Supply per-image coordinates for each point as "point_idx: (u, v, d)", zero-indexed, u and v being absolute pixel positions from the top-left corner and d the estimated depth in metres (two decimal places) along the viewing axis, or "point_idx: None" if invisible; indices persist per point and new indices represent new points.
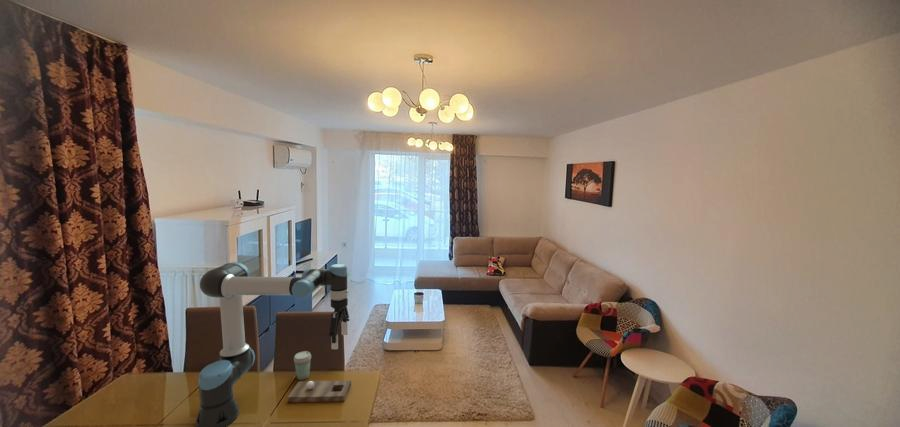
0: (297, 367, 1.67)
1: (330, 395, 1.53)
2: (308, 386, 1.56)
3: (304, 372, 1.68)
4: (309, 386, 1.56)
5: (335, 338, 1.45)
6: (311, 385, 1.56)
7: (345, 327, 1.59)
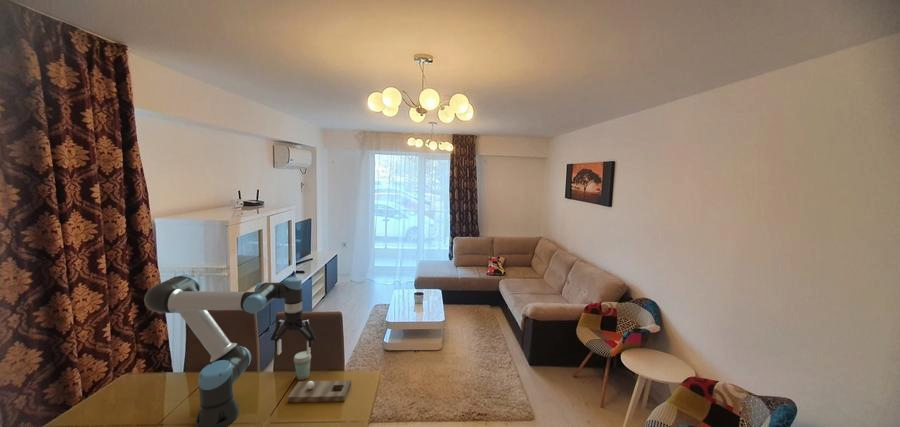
0: (297, 367, 1.67)
1: (330, 395, 1.53)
2: (308, 386, 1.56)
3: (304, 372, 1.68)
4: (309, 386, 1.56)
5: (276, 343, 1.54)
6: (311, 385, 1.56)
7: None
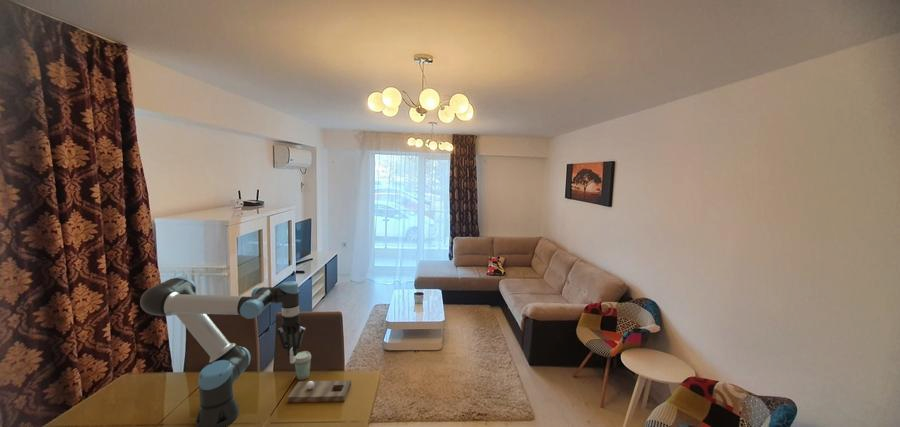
0: (297, 367, 1.67)
1: (330, 395, 1.53)
2: (308, 386, 1.56)
3: (304, 372, 1.68)
4: (309, 386, 1.56)
5: (289, 352, 1.55)
6: (311, 385, 1.56)
7: None
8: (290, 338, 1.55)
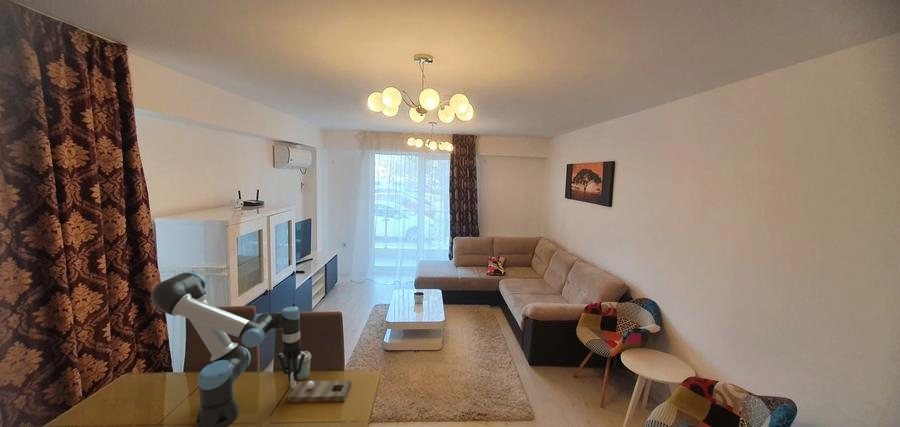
0: None
1: (330, 395, 1.53)
2: (308, 386, 1.56)
3: (304, 372, 1.68)
4: (309, 386, 1.56)
5: (289, 377, 1.56)
6: (311, 385, 1.56)
7: None
8: (291, 363, 1.56)
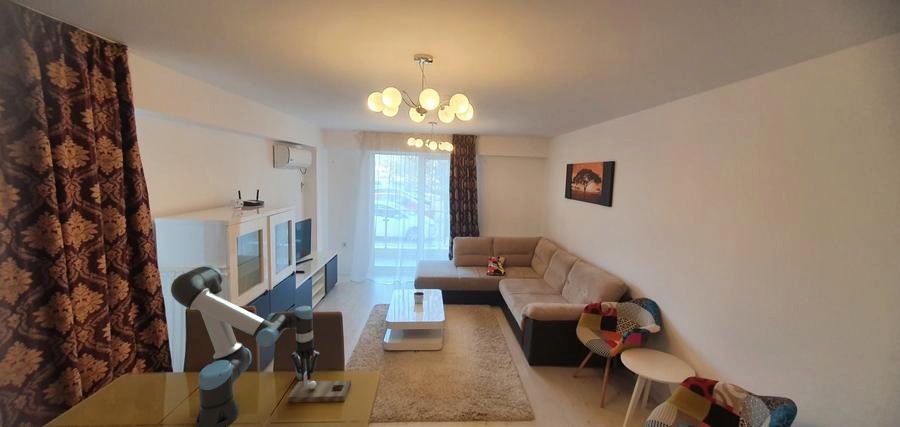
0: None
1: (330, 395, 1.53)
2: (311, 386, 1.56)
3: None
4: (311, 386, 1.56)
5: (303, 376, 1.56)
6: (314, 386, 1.56)
7: None
8: (304, 362, 1.56)
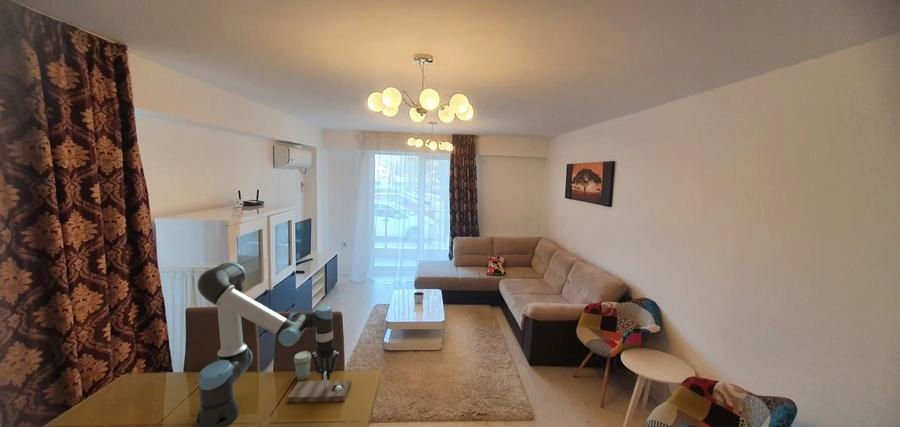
0: (297, 367, 1.67)
1: (330, 395, 1.53)
2: None
3: (304, 372, 1.68)
4: None
5: (322, 376, 1.56)
6: None
7: None
8: (324, 362, 1.57)
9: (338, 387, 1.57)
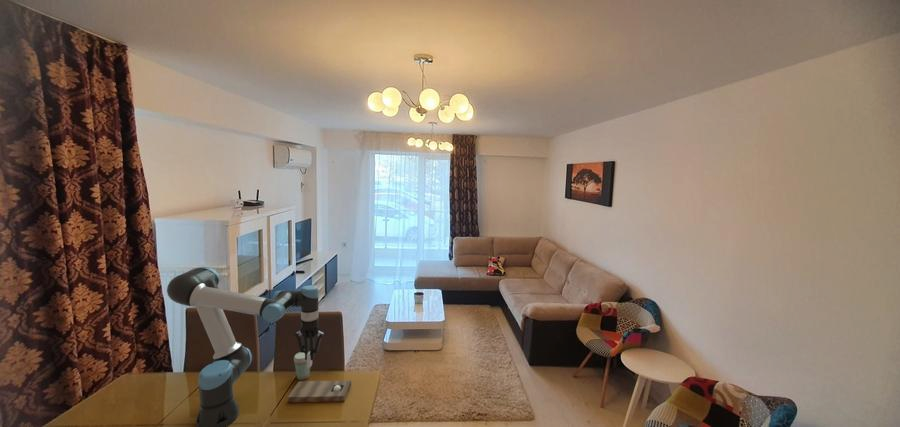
0: (297, 367, 1.67)
1: (330, 395, 1.53)
2: None
3: (304, 372, 1.68)
4: None
5: (306, 356, 1.55)
6: None
7: None
8: (308, 342, 1.55)
9: (335, 387, 1.57)
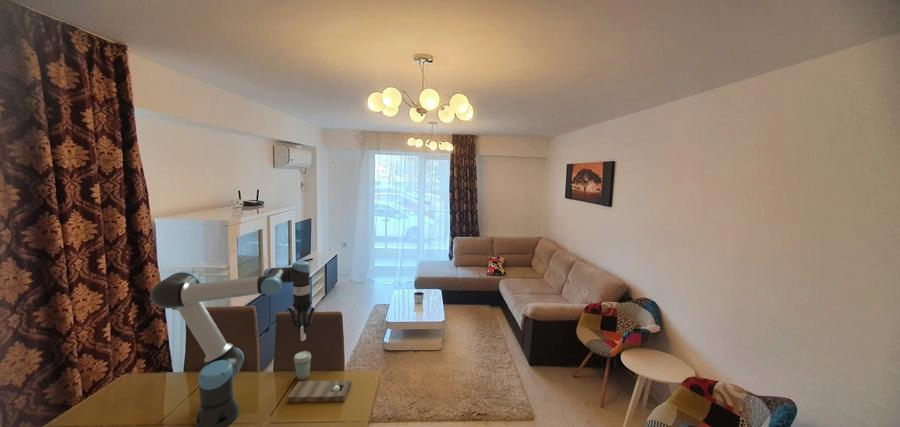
0: (297, 367, 1.67)
1: (330, 395, 1.53)
2: None
3: (304, 372, 1.68)
4: None
5: (299, 329, 1.60)
6: None
7: None
8: (301, 316, 1.60)
9: (333, 388, 1.57)
